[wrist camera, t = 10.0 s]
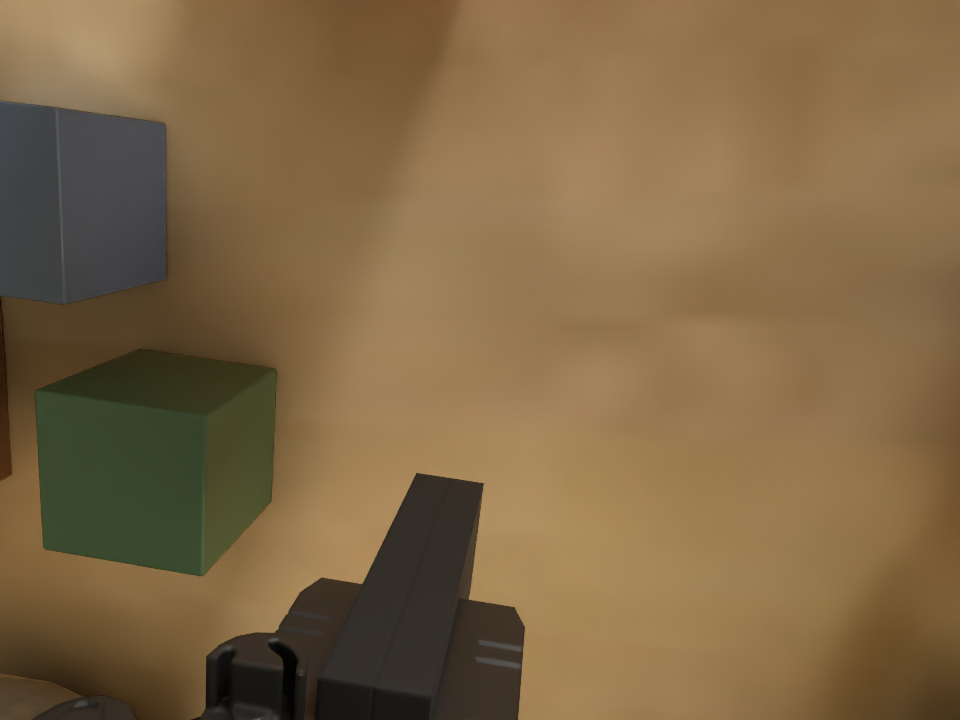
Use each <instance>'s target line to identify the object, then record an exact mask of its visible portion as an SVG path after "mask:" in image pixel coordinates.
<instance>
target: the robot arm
mask: <svg viewBox="0 0 960 720" xmlns="http://www.w3.org/2000/svg"><path fill="white" fill-rule="evenodd" d="M483 485H484V483H478V482H472V481H465V480H459V479H452V478H445V477H439V476H432V475H426V474H419V473H416V475H415V477H414V479H413V481H412V483H411V485H410V488H409V490H408V492H407V494H406V496H405V498H404V500H403V502H402V504H401V506H400V508H399V510H398V512H397V514H396V516H395V518H394V521H393V523H392V525H391V527H390V529H389V531H388V533H387V535H386V537H385V539H384V541H383V543H382V545H381V547H380V549H379V551H378V553H377V556H376V558H375V560H374V562H373V564H372V566H371V568H370V570H369V572H368V574H367V576H366V578H365V580H364V582H363V584H357V583H351V582H345V581H339V580H333V579H327V578H320V579H319V580H317V581H316V582H315V583H313V584H312V585H310V586H309V587H307V588H306V589H304V590H303V591H301V592H300V594H299V595H298V597H297V598H296V600H295V602H294V603H293V605H292V606H291V608H290V610H289V613H288V615H287V614H286V616H285V618H284V619H283V621H282V622H281V624H280V625H279V629H278V630H276V632H275V633H251V634H246V635H241V636H236V637H234V638H232V639H230V640H228V641H226V642H224V643H222V644H220V645H218V646H217V647H216V648H215V649H214V650H213V651H212V652H211V653H210V654H209V655H208V656H206V709H205V711H204V713H203V714H202V716H201V717H198V718H195V719H192V720H518V712H519V699H520V686H521V672H522V670H521V669H522V659H523V645H524V632H525V627H524V625H523V623H522V621H521V619H520V617H519V615H518V613H517V611H516V609H515V607H509V606H503V605H497V604H491V603H484V602H478V601H472V600H468V599H469V595H470V588H471V580H472V572H473V564H474V556H475V549H476V541H477V533H478V525H479V517H480V509H481V501H482V493H483ZM32 720H136V719H135V716H134V713H133V710H132V708H131V707H130V706H128V705H127V704H126V703H124V702H123V701H122V700H120V699H117V698H112V697H108V696H103V695H99V696H85V697H79V698H75V699H72V700H69V701H66V702H62V703H59V704H57V705H55V706H53V707H52V708H50V709H48V710H46V711H45V712H43V713H41V714H39V715H38V716H36V717H35V718H33V719H32Z"/></svg>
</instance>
